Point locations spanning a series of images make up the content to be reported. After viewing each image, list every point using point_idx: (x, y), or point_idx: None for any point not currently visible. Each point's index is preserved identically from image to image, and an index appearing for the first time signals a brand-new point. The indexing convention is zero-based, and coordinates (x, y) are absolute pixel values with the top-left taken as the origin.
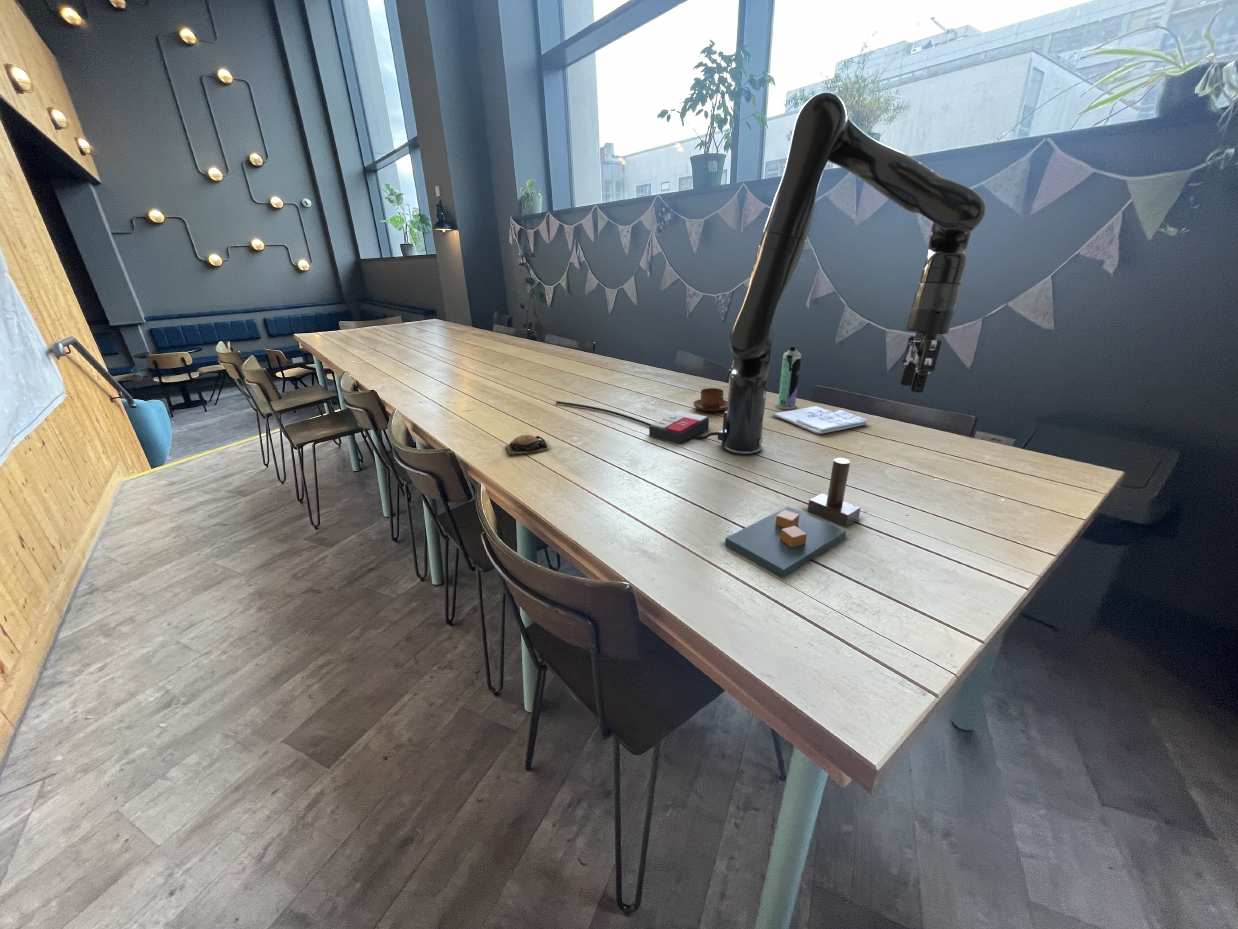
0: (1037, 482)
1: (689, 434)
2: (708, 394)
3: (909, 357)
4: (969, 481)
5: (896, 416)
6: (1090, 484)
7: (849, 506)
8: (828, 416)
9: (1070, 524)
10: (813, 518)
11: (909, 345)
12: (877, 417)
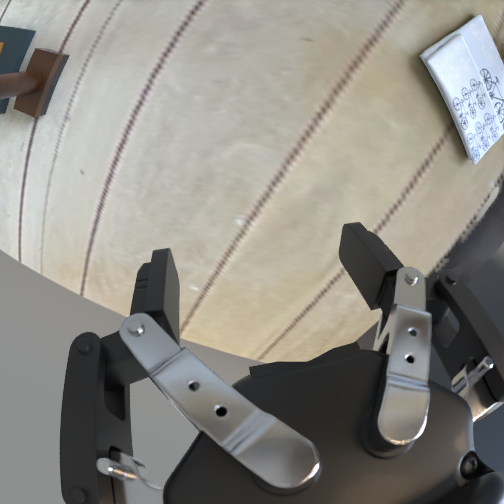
0: (270, 327)
1: None
2: None
3: (389, 329)
4: (247, 265)
5: (488, 214)
6: (278, 358)
7: (32, 102)
8: (485, 101)
9: None
10: (10, 70)
11: (412, 399)
12: (489, 186)
